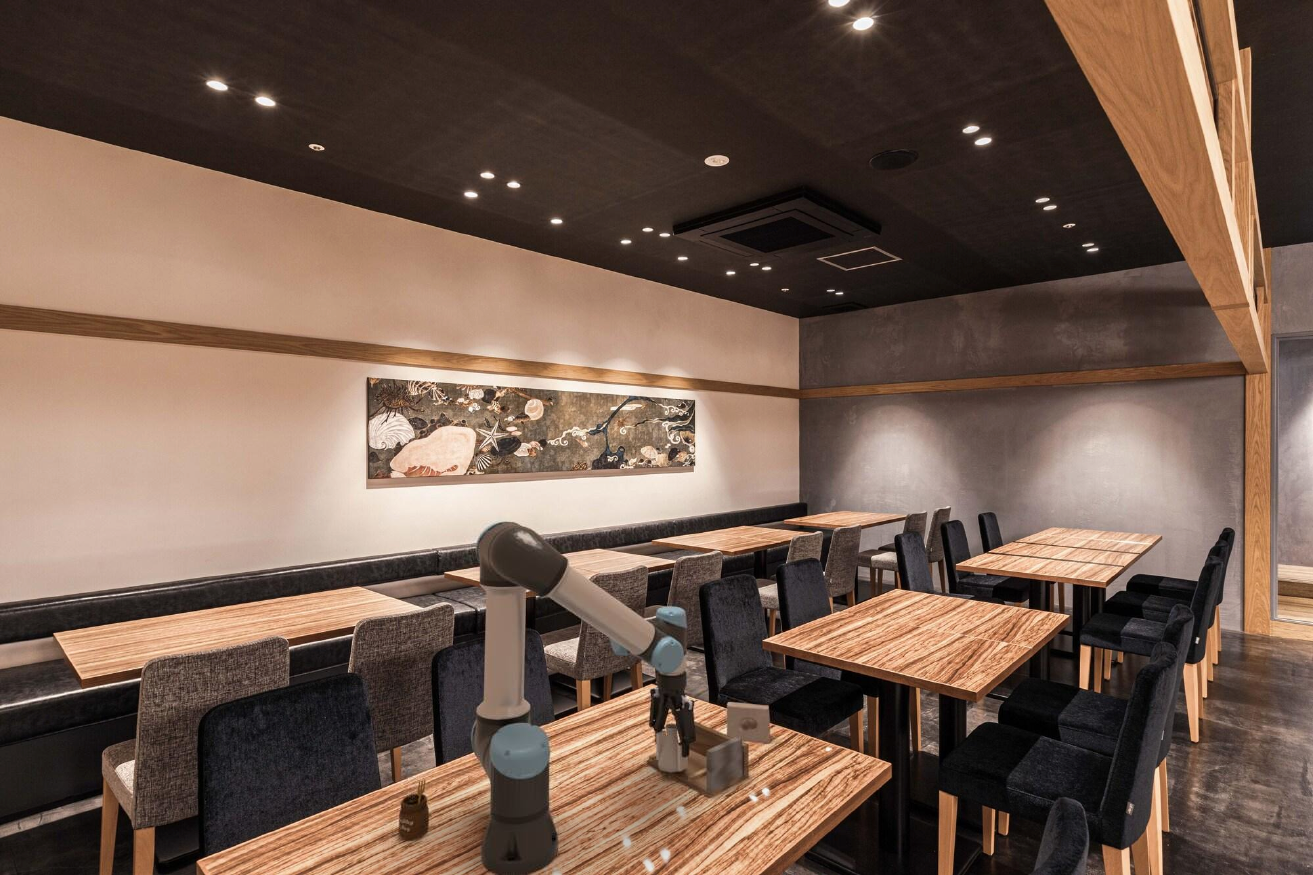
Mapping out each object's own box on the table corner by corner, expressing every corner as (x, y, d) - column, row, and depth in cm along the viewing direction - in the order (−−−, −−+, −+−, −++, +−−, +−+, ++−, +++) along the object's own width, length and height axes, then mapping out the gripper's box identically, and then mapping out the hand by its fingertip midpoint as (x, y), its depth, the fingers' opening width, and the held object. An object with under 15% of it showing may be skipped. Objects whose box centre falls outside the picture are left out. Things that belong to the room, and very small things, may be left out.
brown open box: (709, 798, 151) (709, 753, 152) (646, 764, 168) (646, 724, 168) (748, 777, 161) (748, 735, 161) (685, 748, 177) (685, 710, 177)
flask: (687, 760, 166) (687, 720, 166) (685, 774, 159) (685, 732, 159) (658, 758, 167) (658, 719, 167) (656, 772, 159) (655, 731, 160)
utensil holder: (419, 821, 142) (419, 765, 143) (435, 832, 138) (435, 774, 139) (393, 833, 138) (393, 776, 138) (409, 845, 134) (409, 786, 134)
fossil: (726, 740, 182) (726, 705, 182) (727, 734, 186) (727, 700, 186) (770, 744, 180) (769, 709, 180) (770, 738, 183) (770, 704, 183)
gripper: (711, 677, 158) (711, 772, 158) (655, 658, 173) (656, 745, 173) (689, 684, 153) (689, 783, 153) (634, 664, 168) (634, 754, 168)
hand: (671, 763), depth 163 cm, fingers closed on flask, 7 cm apart
